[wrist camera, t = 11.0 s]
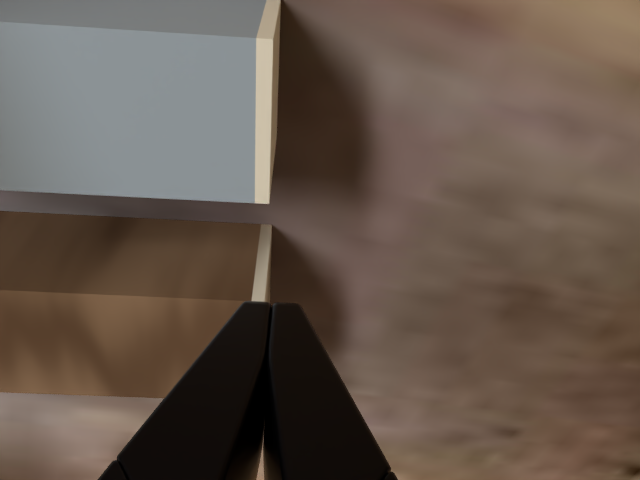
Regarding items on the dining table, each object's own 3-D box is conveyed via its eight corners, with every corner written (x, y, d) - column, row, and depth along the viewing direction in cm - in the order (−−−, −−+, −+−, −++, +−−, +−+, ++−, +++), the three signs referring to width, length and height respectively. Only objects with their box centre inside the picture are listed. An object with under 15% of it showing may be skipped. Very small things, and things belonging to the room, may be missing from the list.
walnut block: (262, 401, 21) (-32, 391, 21) (269, 317, 25) (21, 306, 24) (264, 301, 19) (-69, 287, 18) (272, 224, 22) (-5, 210, 22)
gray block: (269, 203, 17) (-103, 185, 16) (276, 137, 21) (-26, 120, 20) (273, 39, 14) (-166, 11, 14) (280, -3, 18) (-64, -26, 18)
